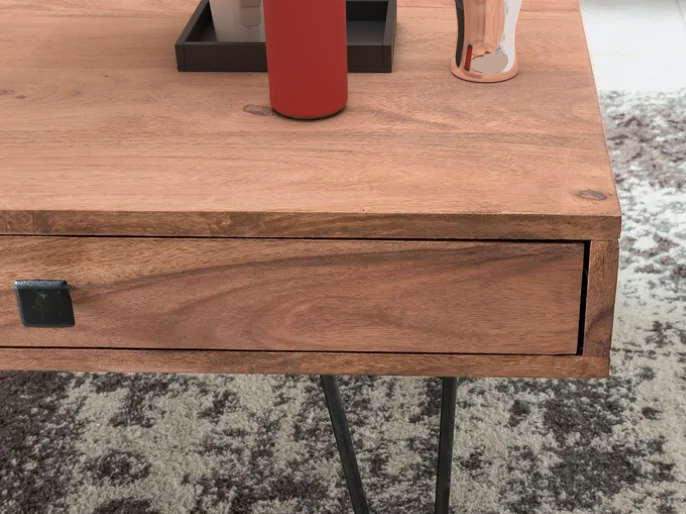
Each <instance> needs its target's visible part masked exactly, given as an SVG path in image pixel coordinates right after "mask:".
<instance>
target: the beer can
mask: <svg viewBox="0 0 686 514" xmlns="http://www.w3.org/2000/svg"><path fill="white" fill-rule="evenodd" d="M263 12H264V26H265V39H266V53H267V67H268V72H267V78H268V79H267V80H268V92H269V103H270V106H271V107H272V109H273V110H275V111H276V112H277V113H279V114H280V115H282V116H284V117H287V118H292V119H298V120H315V119H322V118H325V117H326V118H327V117H330V116H332V115H334V114H337V113H339V112H340V111H341V110H342V109H344V107H345V106H346V105H347V103H348V100H349V85H348V84H349V82H348V81H349V77H348V76H349V75H348V72H347V37H346V0H263Z"/></svg>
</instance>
